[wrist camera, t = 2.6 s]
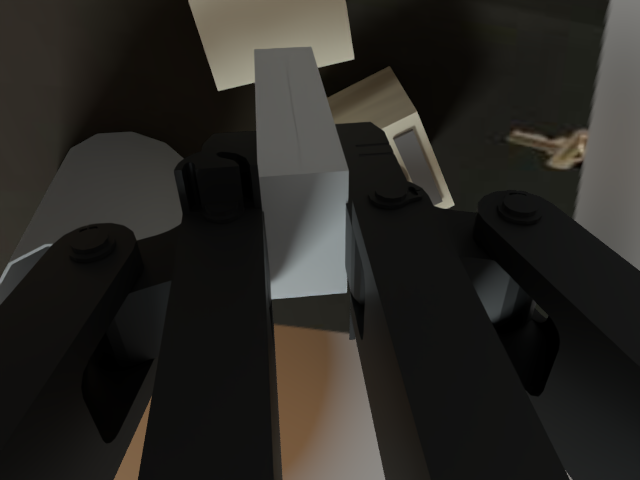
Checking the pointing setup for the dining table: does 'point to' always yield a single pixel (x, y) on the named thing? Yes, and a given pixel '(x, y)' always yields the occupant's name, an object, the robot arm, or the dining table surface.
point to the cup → (102, 196)
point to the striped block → (394, 128)
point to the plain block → (268, 33)
